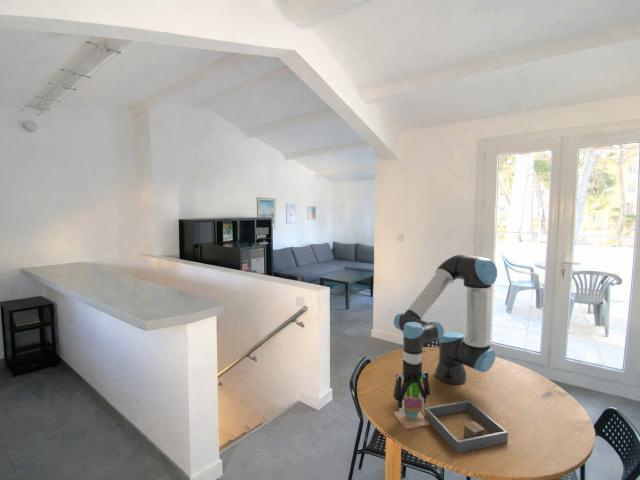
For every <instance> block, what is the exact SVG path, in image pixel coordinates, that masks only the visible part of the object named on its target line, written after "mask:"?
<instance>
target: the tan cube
mask: <svg viewBox="0 0 640 480" xmlns="http://www.w3.org/2000/svg"><path fill="white" fill-rule="evenodd" d="M485 431H486V429H485V428H484V427H483V426H481V425H480V424H479V423H477V422H475V421H474V420H473V421H471V422H468V423H465V424H464V426H463V437H464V438H465V439H469V438H474V437H479V436H484V435H486V434H485V433H486V432H485Z"/></svg>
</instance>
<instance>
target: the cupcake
mask: <svg viewBox="0 0 640 480" xmlns="http://www.w3.org/2000/svg"><path fill="white" fill-rule="evenodd" d="M403 400H404V411H405V414H406V416H408V417H410V418H415V417H417V415H418V412H421V410H422V403H421V401H420V400H419V399H418V398H415V397H412V387H411V385H410V396H409V397H407V396H404V398H403Z"/></svg>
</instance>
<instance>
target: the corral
mask: <svg viewBox="0 0 640 480" xmlns="http://www.w3.org/2000/svg"><path fill="white" fill-rule="evenodd" d="M467 411H469V412H470V414H471V415H473V416H474V417H476V418H477V420H479V421H480V422H481V423H482V424H484V425H485V426H486V427H487V428H488V429H489V430H491V431H492V432H493V433H489V434H485V435H484V436H479V437H474V438H469V439H466V438H465V439H460V440H458V438H456V436H454V435H453V433H451V431H450V430H449V429H448V428H447V427H446V426H445V425H444V424H443V423H442V422H441V420H439V419H438V418H437V417H440V416H445V415H449V414H456V413H461V412H467ZM424 417H425V418H426V419H427V420H428V422H429V423H430V425H431V426H432V427H433V428H434V429H435V430H436V431H437V432H438V433H439V435H441V437H442V438H443V439H444V440H445V441H446V442H447V443H448V444H449V446H450V447H452V449H453V450H454V452H456V453H457V454H459V453H462V452H469V451H472V450H477V449H481V448H487V447H491V446H497V445H499V444H501V445H502V444H505V443H508V440H509V437H508V436H509V432H508V431H507V430H506V429H505V428H503V426H501V425H500V424H498V423H497V422H496V421H495V420H494V419H493V418H492V417H490V416H489V415H488V414H487V413H485V412H484V411H483V410H482V409H481V408H480V407H478V406H477V405H476V404H474V403H473V402H472V401H471V400H464V401H459V402H457V401H456V402H452V403H446V404H441V405H435V406H434V405H433V406H428V407H425V408H424Z"/></svg>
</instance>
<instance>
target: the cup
mask: <svg viewBox="0 0 640 480" xmlns="http://www.w3.org/2000/svg"><path fill="white" fill-rule="evenodd" d="M420 381H421V385H422V386H423V379H422V376H421V377H420ZM410 385H411V387H412V397H415V398H418V399H419V395H421V393H420V391H419V389H418V386H417V384H416V383H412V384H410ZM405 396H406V397H409V396H410V386H409V387H408V389H407V391H406V393H405Z"/></svg>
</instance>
